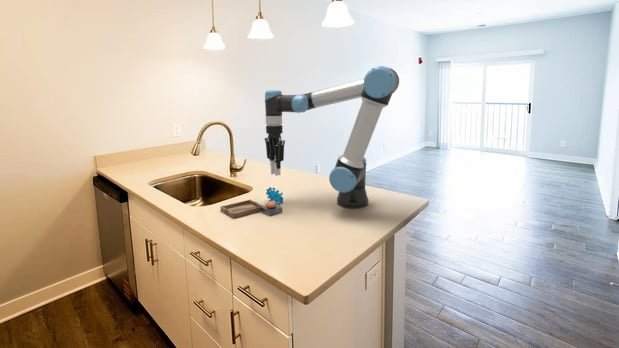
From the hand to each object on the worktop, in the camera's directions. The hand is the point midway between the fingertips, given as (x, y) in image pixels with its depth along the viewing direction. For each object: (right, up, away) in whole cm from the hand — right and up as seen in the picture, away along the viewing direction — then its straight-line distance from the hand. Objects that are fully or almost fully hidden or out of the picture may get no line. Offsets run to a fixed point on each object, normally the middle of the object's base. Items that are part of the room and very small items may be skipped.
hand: (275, 174), depth 166 cm
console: (-1, -17, -8) cm, 19 cm away
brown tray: (-14, -17, -7) cm, 23 cm away
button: (-1, -15, -9) cm, 18 cm away
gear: (0, -14, +4) cm, 15 cm away
